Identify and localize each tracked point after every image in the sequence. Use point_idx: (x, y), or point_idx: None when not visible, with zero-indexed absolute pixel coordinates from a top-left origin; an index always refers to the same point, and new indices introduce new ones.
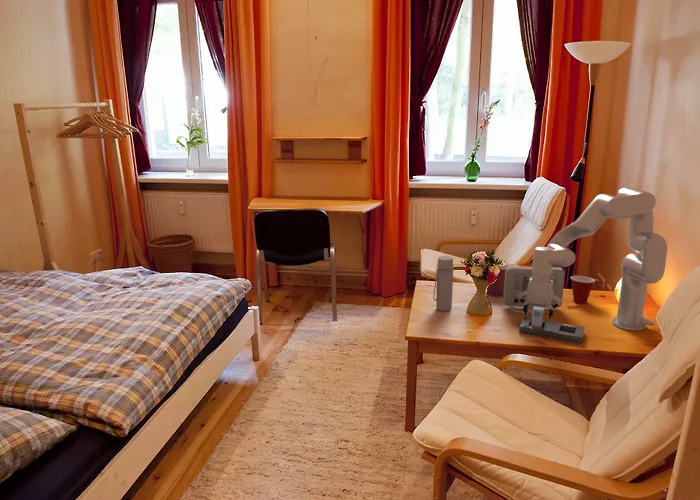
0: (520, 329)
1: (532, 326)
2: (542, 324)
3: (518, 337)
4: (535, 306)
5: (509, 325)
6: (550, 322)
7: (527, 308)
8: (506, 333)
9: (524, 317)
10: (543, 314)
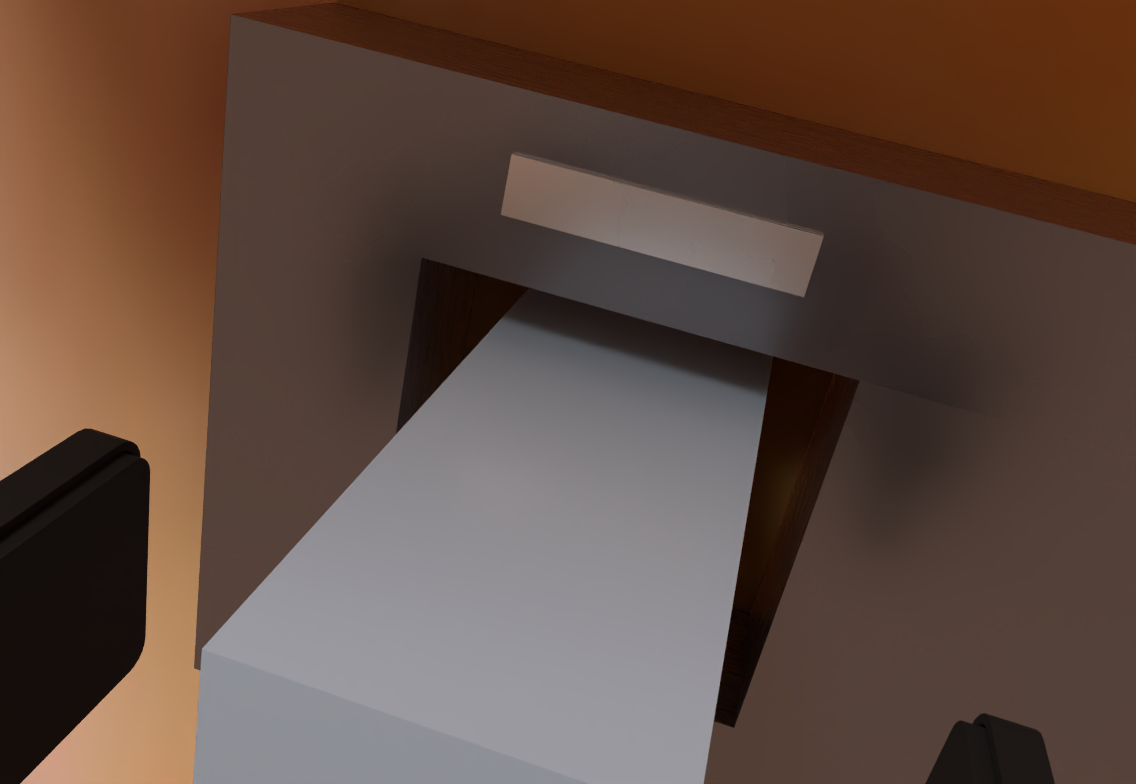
0: None
1: None
2: (759, 422)
3: None
4: (264, 687)
5: (46, 236)
6: (1038, 340)
7: (27, 588)
8: None
9: (232, 77)
10: (730, 606)
